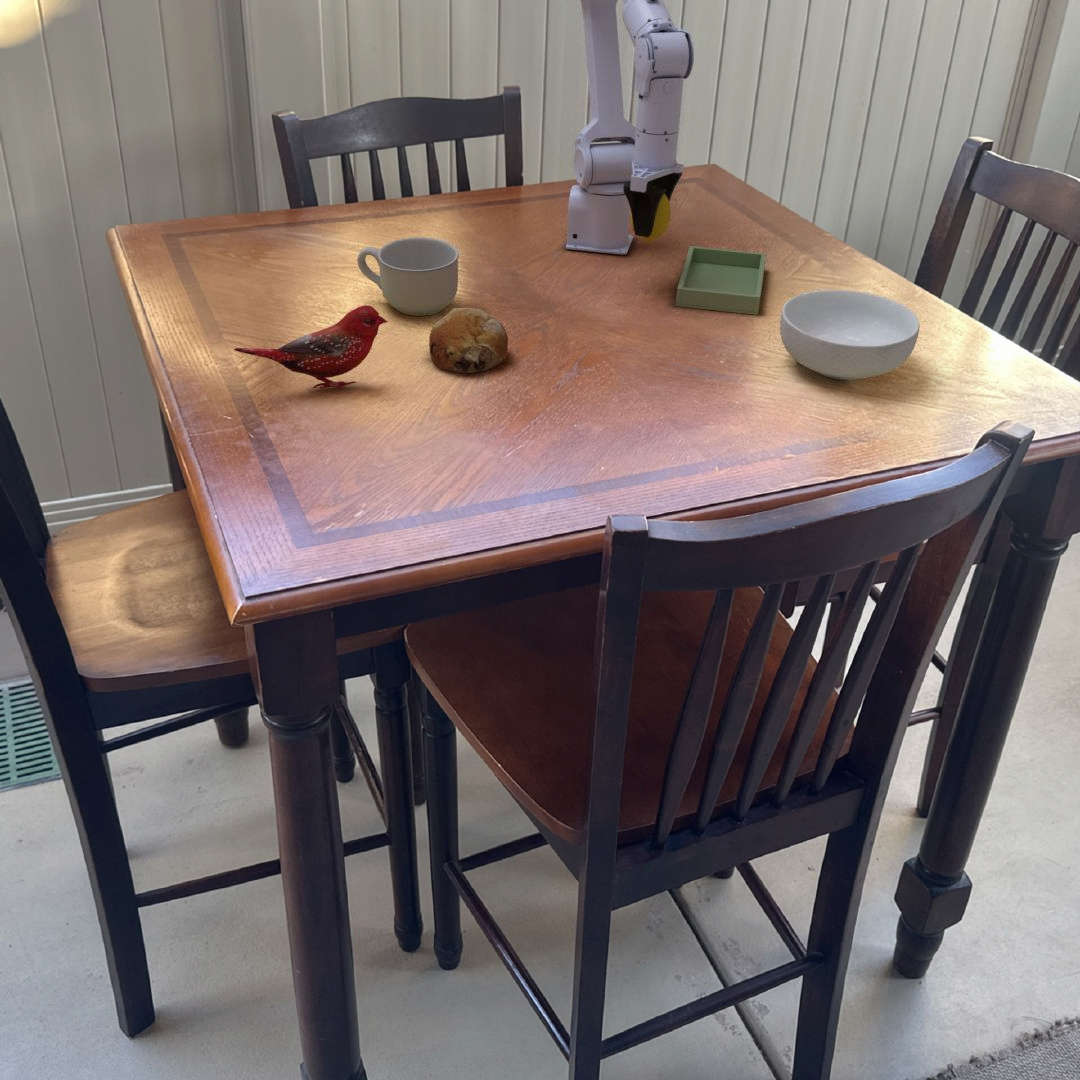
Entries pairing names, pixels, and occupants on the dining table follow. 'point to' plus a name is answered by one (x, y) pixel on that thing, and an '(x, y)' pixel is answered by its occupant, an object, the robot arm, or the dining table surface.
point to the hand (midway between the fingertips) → (648, 228)
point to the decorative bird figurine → (329, 347)
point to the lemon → (658, 220)
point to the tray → (721, 280)
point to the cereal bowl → (848, 333)
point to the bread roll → (468, 341)
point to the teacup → (415, 274)
